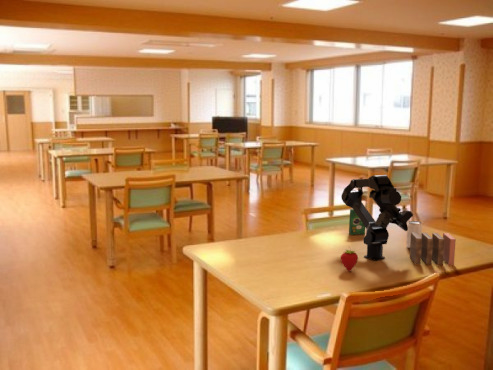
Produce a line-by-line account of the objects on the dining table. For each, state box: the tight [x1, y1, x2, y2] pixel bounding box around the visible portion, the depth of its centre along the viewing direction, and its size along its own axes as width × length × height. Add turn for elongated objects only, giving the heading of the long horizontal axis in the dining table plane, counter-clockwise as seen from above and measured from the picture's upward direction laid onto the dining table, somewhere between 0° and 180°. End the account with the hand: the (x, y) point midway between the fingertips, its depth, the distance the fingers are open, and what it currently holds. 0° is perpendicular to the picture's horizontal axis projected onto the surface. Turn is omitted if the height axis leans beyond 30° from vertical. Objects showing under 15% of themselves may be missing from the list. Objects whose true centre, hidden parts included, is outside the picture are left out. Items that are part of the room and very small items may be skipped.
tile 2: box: [421, 232, 433, 265], centre depth 210 cm, size 2×10×11 cm, turn 175°
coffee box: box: [348, 208, 366, 236], centre depth 254 cm, size 8×3×13 cm, turn 103°
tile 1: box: [409, 232, 422, 265], centre depth 211 cm, size 2×10×11 cm, turn 175°
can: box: [406, 220, 423, 250], centre depth 230 cm, size 6×6×12 cm
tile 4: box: [442, 232, 456, 266], centre depth 210 cm, size 2×10×11 cm, turn 175°
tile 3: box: [431, 232, 444, 266], centre depth 210 cm, size 2×10×11 cm, turn 175°
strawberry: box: [340, 246, 359, 272], centre depth 197 cm, size 6×8×10 cm
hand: (406, 230), depth 212 cm, fingers closed
